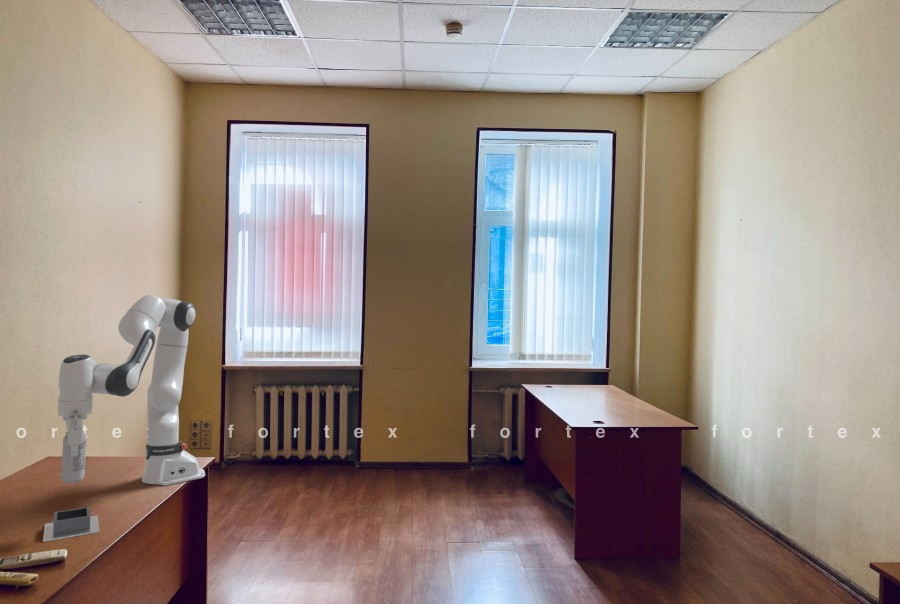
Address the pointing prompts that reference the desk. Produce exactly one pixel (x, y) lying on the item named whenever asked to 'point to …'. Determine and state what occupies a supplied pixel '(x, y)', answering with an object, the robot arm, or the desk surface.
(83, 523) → the socket
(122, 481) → the desk surface
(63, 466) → the energy drink can
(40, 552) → the desk surface
